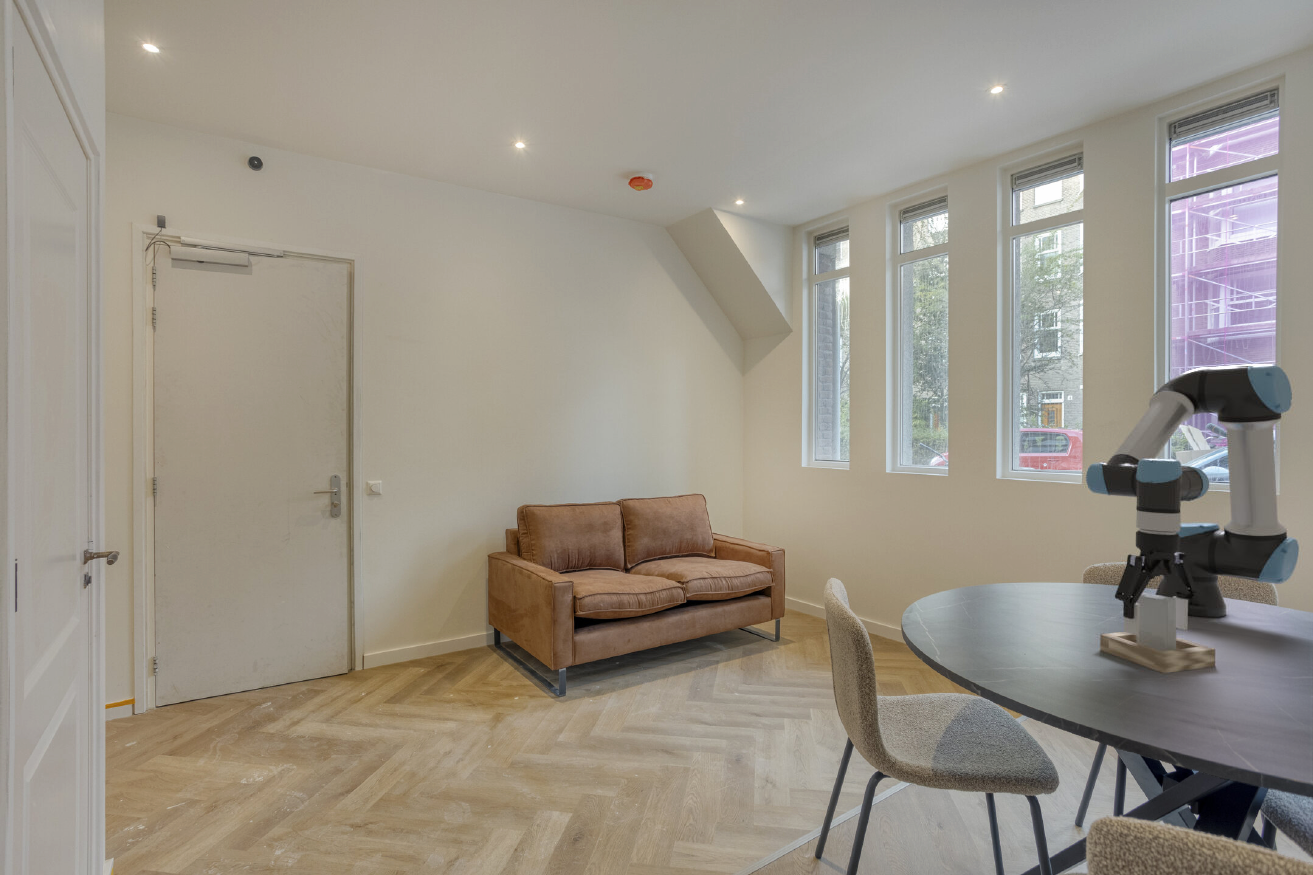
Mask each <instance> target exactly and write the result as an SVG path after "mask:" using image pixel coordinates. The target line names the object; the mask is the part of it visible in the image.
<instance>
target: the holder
mask: <svg viewBox="0 0 1313 875" xmlns="http://www.w3.org/2000/svg"><path fill="white" fill-rule="evenodd" d="M1099 637H1100V640H1099V642H1100V643H1099V644H1100V645H1099V648H1100V649H1099V650H1100V651H1102V652H1104V653H1107V654H1110V655H1112V656H1114V657H1118V658H1121V659H1123V660H1127V661H1129V662H1132V663H1134V664H1137V665H1141V666H1144V667H1146V668H1148V669H1152V670H1154V671H1156V672H1159V673H1163V674H1169V673H1175V672H1182V671H1189V670H1196V669H1205V668H1210V667H1216V648H1212V647H1209V646H1206V645H1203V644H1200V643H1196V642H1193V641H1190V640H1187V639H1183V638H1181V637H1180V638H1179V637H1177V636H1176V650H1170V651H1163V652H1162V651H1159V650H1156V649H1153V648H1150V647H1146V646H1143V645H1140V644H1137V635H1133V634H1130V633H1127V632H1124V631H1119V632H1111V633H1110V632H1109V633H1102V634H1100V636H1099Z"/></svg>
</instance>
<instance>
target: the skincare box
mask: <svg viewBox="0 0 1313 875" xmlns="http://www.w3.org/2000/svg"><path fill="white" fill-rule="evenodd" d="M1136 603H1137V604H1140V622H1139V635H1137V644H1140V645H1143V646H1146V647H1150V648H1153V649H1156V650H1159V651H1162V652H1163V651H1170V650H1176V637H1177V628H1176V599H1175V598H1171V597H1165V596H1160V595H1155V594H1153V593H1148V592H1143V593H1142V594H1141V596H1140V597H1139V599H1138V601H1137V602H1136Z"/></svg>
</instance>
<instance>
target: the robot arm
mask: <svg viewBox="0 0 1313 875" xmlns="http://www.w3.org/2000/svg"><path fill="white" fill-rule="evenodd" d="M1292 391H1293V390H1292V387H1291V383H1290V380H1289V377H1288V376H1287V374H1286V372H1285V371H1284V370H1283V369H1282V367H1280V366H1278V365H1276V364H1269V363H1250V364H1238V365H1237V364H1236V365H1235V364H1234V365H1225V366H1224V365H1223V366H1212V367H1211V366H1204V367H1203V366H1202V367H1198V368H1194V369H1190V370H1187V371H1186V372H1183V373H1181V374H1178V375H1177V376H1176V377H1173V378H1171V379H1170V380H1169V381H1167V382H1166V383H1164V384H1163V385H1162V386H1160V388H1158V389H1157V390H1156V391H1155V393H1154V394H1153V395H1152V396H1151V398H1150V399H1149V402H1148V407H1149V408H1148V409H1147V410H1146V412H1145V413H1144V414H1143V416H1142V417H1141V418H1140V419H1139V421H1138V422H1137V423H1136V425H1135V426H1134V428H1133V429H1132V430H1131V431H1130V432H1129V434H1128V435H1127V437H1125V439H1124V441H1123V442H1122V443H1121V444H1120V445H1119V447H1118V448H1117V450H1116V451H1115V452H1114V454H1113V455H1112V456H1111V457H1110V459H1108V461H1107V462H1094V463H1092V464H1090V465H1089V467H1088V468H1087V471H1086V474H1085V475H1086V476H1085V481H1086V484H1087V488H1088V489H1089V491H1091V492H1092V493H1094V494H1098V495H1099V494H1101V495H1106V496H1117V497H1130V498H1131V497H1132V498H1136V507H1135V508H1136V520H1135V522H1136V523H1135V526H1136V528H1137V529H1138V530H1137V531H1136V532H1135V547H1136V548H1137V549H1139V551H1140V553H1139V555H1134V554H1128V555H1127V556H1126V558H1127V559H1126V566H1125V569H1124V571H1123V573H1122V576H1121V579H1120V581H1119V584H1118V586H1117V588H1116V591H1115V594H1114V598H1115V599H1117V600H1119V601H1122V603H1123V613H1122V615H1123V617H1124V618H1123V621H1124V624H1123V625H1124V627H1123V632H1127V633H1130V634H1133V635H1139V622H1140V604H1137V603H1136V602H1137V601H1138V599H1139V597H1140V596H1141V594H1142V593H1144V591H1145V589H1146V588H1147V586H1148V585H1149V583H1150V582H1151V580H1153V579H1155V577H1160V576H1162V577H1161V579H1160V581H1159V585H1158V587H1157V589H1156V591H1155V594H1154V595H1160V596H1165V597H1171V598H1175V599H1176V629H1178V630H1179V629H1180V630H1183V631H1188V623H1189V622H1188V620H1189V619H1188V618H1189V616H1193V617H1206V618H1208V617H1209V618H1219V617H1224V616H1226V615H1227V604H1226V603H1225V600H1224V596H1223V594H1222V591H1221V589H1220V586H1219V576H1221V577H1229V578H1236V579H1241V580H1248V581H1253V582H1258V583H1261V584H1262V583H1268V584H1276V585H1280V584H1284V583H1286V582H1287V581H1289V579H1290V578H1291V576H1292V575H1293V574H1294V571H1295V569H1296V566H1297V564H1298V559H1299V552H1300V548H1299V543H1298V540H1297V539H1296V538H1293V537H1290V536H1289V537H1288V533H1287V532H1288V531H1287V528H1286V527H1285V526H1284V525H1283V524H1281V523H1280V522H1279V521H1278V518H1279V517H1278V503H1277V480H1276V477H1277V476H1276V461H1275V460H1276V459H1275V457H1276V456H1275V437H1274V436H1275V434H1274V426H1275V425H1276V424H1277V423H1278V422H1280V420H1282V414H1284V413H1286V412H1289V410H1290V408H1291V407H1292V399H1293V393H1292ZM1196 414H1197V415H1199V414H1217V422H1218V423H1219V424H1221V425H1222V426H1223V427H1225V428H1226V430H1225V431H1226V444H1227V445H1226V446H1227V448H1226V449H1227V463H1228V466H1227V467H1228V480H1229V481H1228V482H1229V483H1228V484H1229V499H1230V516H1231V520H1230V521H1229V522H1227V523H1226V524H1225V525H1224V527H1223V530H1222V529H1221V528H1220V525H1219V524H1218V523H1215V522H1214V523H1213V522H1187V523H1186V522H1181V505H1182V502H1184V501H1185V502H1192V501H1194V500H1197V499H1200V498H1202V497H1203V496H1204V495H1206V493H1207V492H1208V490H1209V488H1210V480H1209V477H1208V476H1207V474H1206V473H1205V472H1204V471H1203V470H1202V469H1199V467H1198V468H1197V467H1196V466H1195V467H1194V466H1189V465H1188V466H1187V465H1182V464H1181V461H1180V460H1178V459H1171V458H1157V457H1158V456H1159V454H1160V453H1161V452H1162V450H1163V449H1164V447H1165V446H1166V445H1167V443H1168V442H1169V440H1170V439H1171V438H1172V436H1173V435H1174V433H1175V432H1176V431H1177V429H1178V428H1179V427H1180V425H1181V424H1182V423H1184V422H1187V421H1189V420H1190V419H1191V418H1192V417H1193V415H1196Z"/></svg>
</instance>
